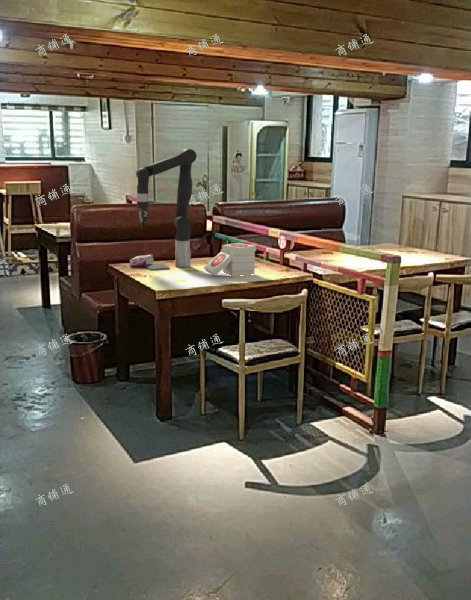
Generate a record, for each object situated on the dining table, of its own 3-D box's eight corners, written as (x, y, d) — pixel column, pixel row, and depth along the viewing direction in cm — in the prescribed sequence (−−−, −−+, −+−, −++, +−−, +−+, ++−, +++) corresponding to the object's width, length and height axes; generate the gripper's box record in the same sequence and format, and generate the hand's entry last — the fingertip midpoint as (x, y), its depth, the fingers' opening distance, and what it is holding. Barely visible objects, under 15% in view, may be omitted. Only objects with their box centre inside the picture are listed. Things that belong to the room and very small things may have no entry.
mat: (162, 265, 414) (162, 263, 414) (169, 269, 400) (169, 267, 399) (143, 266, 409) (143, 264, 409) (149, 270, 395) (149, 268, 395)
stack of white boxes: (202, 273, 389) (202, 244, 385) (246, 270, 401) (246, 242, 397) (213, 279, 372) (214, 249, 368) (259, 276, 384) (259, 246, 380)
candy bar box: (129, 259, 403) (136, 256, 419) (130, 267, 404) (137, 263, 420) (145, 257, 401) (152, 254, 417) (146, 265, 402) (153, 261, 418)
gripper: (151, 201, 388) (151, 229, 392) (146, 199, 400) (146, 226, 404) (139, 201, 385) (139, 229, 389) (134, 199, 397) (134, 227, 401)
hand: (143, 228), depth 396 cm, fingers closed
